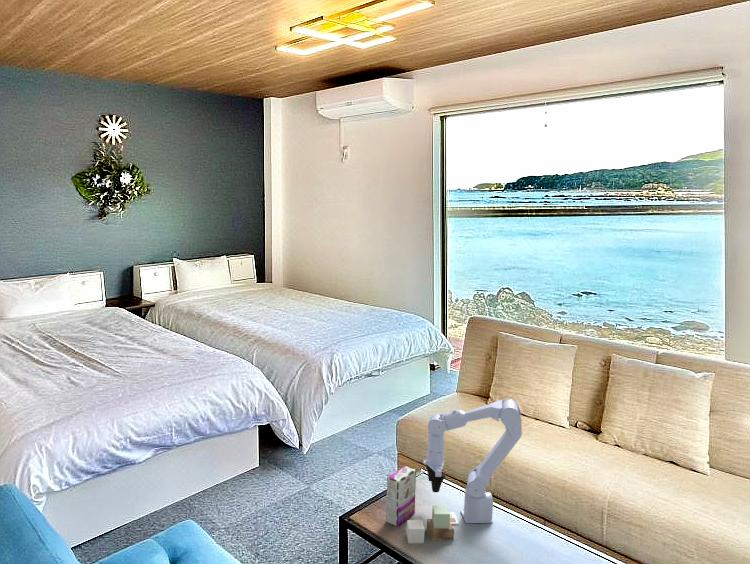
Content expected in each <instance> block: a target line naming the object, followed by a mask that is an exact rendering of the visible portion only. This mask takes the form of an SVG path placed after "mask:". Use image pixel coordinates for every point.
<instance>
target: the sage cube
mask: <svg viewBox="0 0 750 564" xmlns="http://www.w3.org/2000/svg"><path fill="white" fill-rule="evenodd" d="M431 511H432V512H431V519H432V522H433V526H434V528H440V529H449V525H450V512H451V511H450V509H449V506H448V505H432V510H431Z"/></svg>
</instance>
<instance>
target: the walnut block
mask: <svg viewBox="0 0 750 564" xmlns="http://www.w3.org/2000/svg"><path fill="white" fill-rule="evenodd" d="M426 531H427V533H428V535H429V537H430V539H431V540H432V542H433V543H434V542H435V543H436V542H445V541H454V539H455V528H454V525H451V523H450V525H449V529H440V528H434V526H433V522H432V518H427V519H426Z"/></svg>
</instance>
